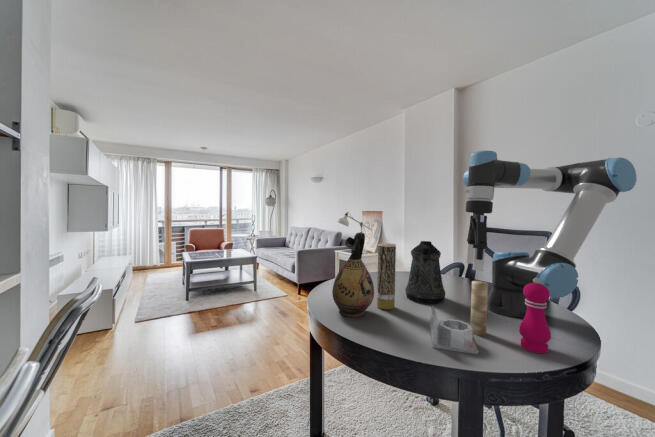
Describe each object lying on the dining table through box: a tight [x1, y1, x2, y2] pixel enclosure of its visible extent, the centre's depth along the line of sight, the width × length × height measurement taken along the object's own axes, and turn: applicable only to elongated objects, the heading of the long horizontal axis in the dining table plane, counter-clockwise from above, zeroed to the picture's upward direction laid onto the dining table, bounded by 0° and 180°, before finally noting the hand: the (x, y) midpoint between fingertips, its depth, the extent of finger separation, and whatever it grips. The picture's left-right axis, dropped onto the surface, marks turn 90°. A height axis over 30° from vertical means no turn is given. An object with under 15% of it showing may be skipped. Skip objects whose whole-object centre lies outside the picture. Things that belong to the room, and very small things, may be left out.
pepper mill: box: [518, 278, 552, 354], centre depth 79 cm, size 7×7×20 cm
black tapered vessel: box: [404, 240, 446, 305], centre depth 121 cm, size 16×19×25 cm
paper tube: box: [376, 242, 397, 311], centre depth 110 cm, size 7×7×25 cm
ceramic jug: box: [331, 231, 375, 318], centre depth 105 cm, size 17×15×30 cm
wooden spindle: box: [469, 280, 489, 337], centre depth 89 cm, size 4×4×16 cm
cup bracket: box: [429, 305, 480, 355], centre depth 83 cm, size 12×12×8 cm
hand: (474, 266), depth 90 cm, fingers open, 13 cm apart
